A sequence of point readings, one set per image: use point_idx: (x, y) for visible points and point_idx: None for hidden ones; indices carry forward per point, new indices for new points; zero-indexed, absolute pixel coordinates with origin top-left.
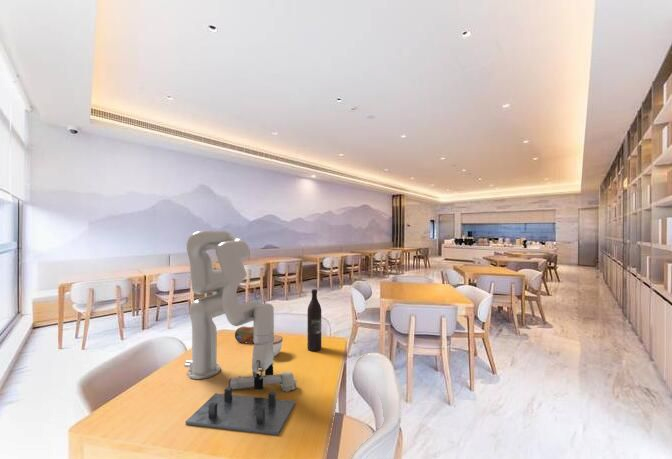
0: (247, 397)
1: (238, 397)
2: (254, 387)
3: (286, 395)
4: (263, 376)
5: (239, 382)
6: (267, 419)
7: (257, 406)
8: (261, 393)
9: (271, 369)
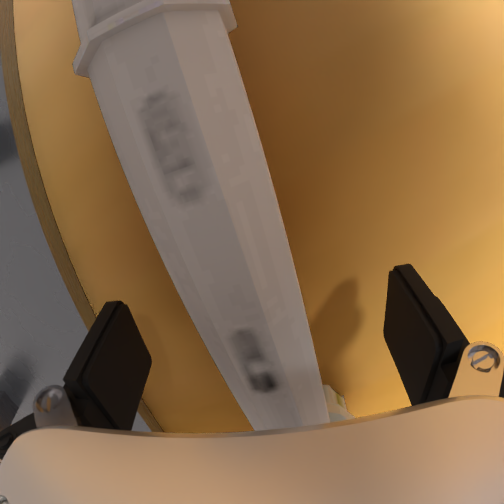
0: (47, 268)
1: (12, 201)
2: (104, 310)
3: (230, 423)
4: (251, 369)
5: (94, 79)
6: (28, 414)
7: (38, 363)
8: (179, 302)
9: (408, 387)
